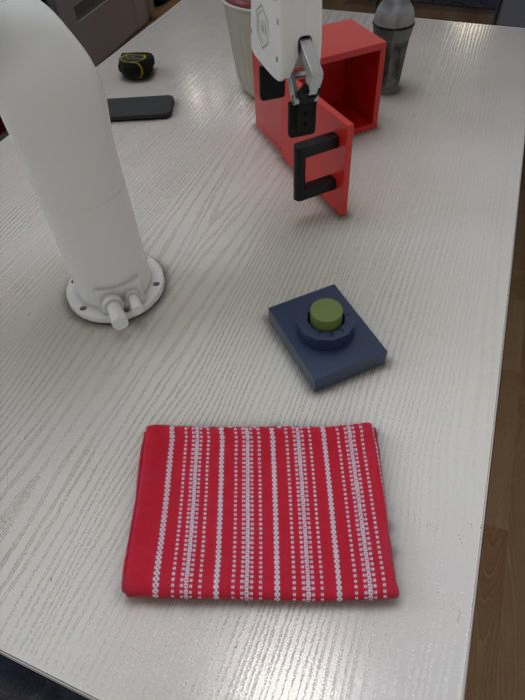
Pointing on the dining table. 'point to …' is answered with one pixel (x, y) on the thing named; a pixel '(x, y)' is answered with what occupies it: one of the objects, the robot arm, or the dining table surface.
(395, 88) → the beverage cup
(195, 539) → the dish towel
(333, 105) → the cabinet
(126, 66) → the tape measure
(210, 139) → the dining table surface
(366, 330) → the panel
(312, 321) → the button
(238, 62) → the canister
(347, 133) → the door
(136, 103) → the phone
